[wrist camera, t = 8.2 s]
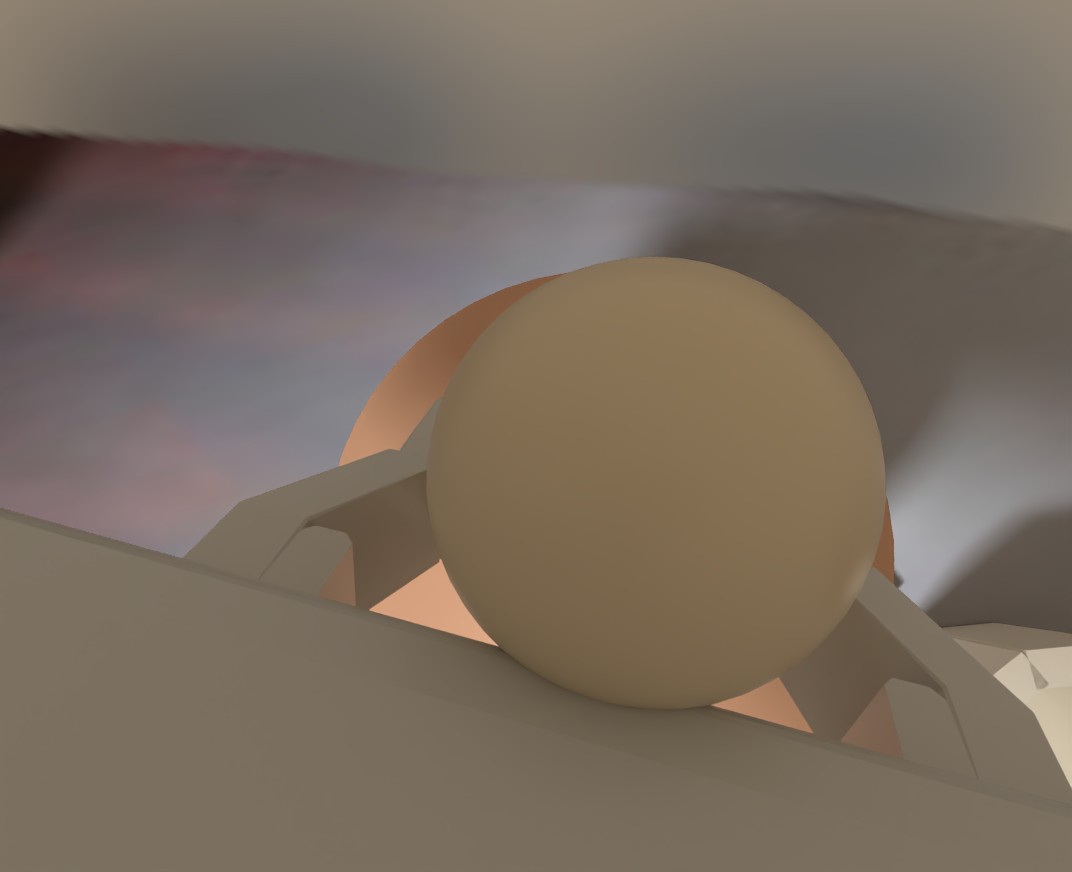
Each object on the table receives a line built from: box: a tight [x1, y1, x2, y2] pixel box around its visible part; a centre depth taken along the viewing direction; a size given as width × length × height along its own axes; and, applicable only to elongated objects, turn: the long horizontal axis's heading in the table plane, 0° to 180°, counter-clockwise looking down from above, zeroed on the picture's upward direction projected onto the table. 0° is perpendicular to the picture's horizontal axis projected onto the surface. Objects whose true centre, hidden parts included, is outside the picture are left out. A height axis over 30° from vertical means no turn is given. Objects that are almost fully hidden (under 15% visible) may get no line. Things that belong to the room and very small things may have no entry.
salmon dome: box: [338, 257, 894, 734], centre depth 9 cm, size 13×13×12 cm
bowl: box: [942, 623, 1072, 788], centre depth 18 cm, size 10×10×6 cm
